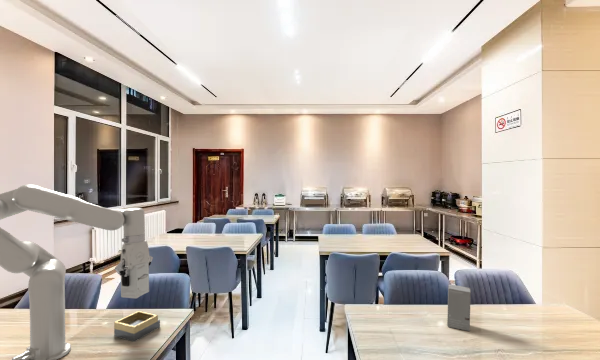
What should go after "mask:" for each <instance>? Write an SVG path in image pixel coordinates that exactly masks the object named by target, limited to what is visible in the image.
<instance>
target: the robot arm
mask: <svg viewBox="0 0 600 360" xmlns="http://www.w3.org/2000/svg"><path fill="white" fill-rule="evenodd" d="M27 211H31V212H35V213H38V214H42V215H47V216H51V217H54V218H58V219H61V220H62V219H63V220H66V221H70V222H75V223H78V224H81V225H86V226H89V227H92V228H97V229H102V230H105V231H117V230H119V229H121V228H122V227H123V238H121V242H122V245H121V252H120V261H119V263H118V264H117V265H116V266H115V267H114V270H115V272H116V273H117V274H118V275H119V276H120V277H121V276H122V286H127V287H128V286H129V276H128V274H129V272H130V270H133V269H134V266H136V265H139V264H143V263H146V262H149V267H150V265H152V261H153V259H154V257H153V256H152V255H150V249H149V245H148V241H147V240H146V229H145V228H146V227H145V226H146V224H145V223H146V222H145V220H146V219H145V218H146V217H145V215H146V213H145V210H144V208H142V207H130V208H129V207H128V208H125V209H124V208H107V207H103V206H100V205H96V204H93V203H91V202H87V201H86V200H83V199H81V198H79V197H77V196H74V195H70V194H67V193H66V194H65V193H63V192H58V191H55V190H51V189H48V188H45V187H42V186H40V185H38V184H37V185H36V184H25V185H20V186H19V187H18V188H15V189H12V190H9V191H6V192H2V193H0V221H1V220H3V219H7V218H9V217H11V216H12V217H13V216H15V215H18V214H21V213H23V212H27ZM123 266H124V267H123ZM125 266H126V268H125ZM0 267H1V268H2V269H4V270H5V271H7V272H9V273H11V274H25V275H26V276H28V277H29V279H28V285H27V287H28V289H27V290H28V291H27V292H28V300H29V340H30V341H29V342H30V343H29V344H30V345H29V346H27V347H26V350H25V351H23V353H21V354H18V355H15V356H13V357H11V360H59V359H61V358H63V357H64V356H66V355H67V354H68V353H69V352H70V351H71V350H72V349H71V348H72V345H71V343H69V342H66V297H65V295H66V293H65V290H66V289H65V283H66V281H65V279H66V273H67V271H66V270H67V269H66V266H65V264H64V263H63V262H62V261H61V260H60V259H59V258H57V257H56V256H55V255H53V254H52V253H50V252H49V251H47V250H46V249H44V247H42V246H40V244H37V243H36V242H33V241H29V240H22V241H21V240H19V239H18V238H17V237H15V236H14V235H13V234H11V233H10V232H9V231H6V229H3V228H2V227H0ZM121 268H122V270H121ZM125 270H126V272H125Z"/></svg>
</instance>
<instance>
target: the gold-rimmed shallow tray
mask: <svg viewBox="0 0 600 360" xmlns="http://www.w3.org/2000/svg"><path fill="white" fill-rule="evenodd" d="M113 323H114V324H113V329H114V330H113V331H114V332H113V335H114V338H115V337H116V338H120V339H123V340H127V341H131V342H137V341H138V340H140V339H141V338H144V337H145V336H147V335H149V334H151V333H153V332H154V331H156V330H158V329H159V328H161V320H160V319H159V315H158V314H154V313H149V312H145V311H140V310H138V311H135V312H133V313H131V314H129V315H126V316H125V317H123V318H121V319H120V318H119V319H117V320H116V321H114V322H113Z"/></svg>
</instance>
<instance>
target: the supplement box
mask: <svg viewBox="0 0 600 360" xmlns="http://www.w3.org/2000/svg"><path fill="white" fill-rule="evenodd" d="M123 267H124V266H123ZM125 268H126V266H125ZM121 270H122V268H121ZM125 272H126V270H125ZM128 276H129V286H128V287H127V286H122V276H120V297H121V298H123V299H124V298H127V299H138V298H139V297H141V296H143V295H145V294H147V293H149V292H150V266H149V262H146V263H143V264H139V265H136V266H134V269H133V270H130V272H129V274H128Z"/></svg>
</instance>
